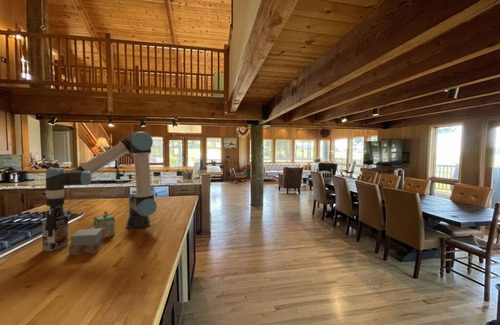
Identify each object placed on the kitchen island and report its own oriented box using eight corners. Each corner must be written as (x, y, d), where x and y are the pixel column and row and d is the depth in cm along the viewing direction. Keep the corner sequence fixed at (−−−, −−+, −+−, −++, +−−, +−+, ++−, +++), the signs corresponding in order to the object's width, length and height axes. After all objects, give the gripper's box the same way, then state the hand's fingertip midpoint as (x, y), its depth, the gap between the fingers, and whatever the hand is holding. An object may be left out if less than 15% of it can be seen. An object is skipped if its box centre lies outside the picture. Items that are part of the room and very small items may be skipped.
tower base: (102, 245, 133) (102, 236, 133) (97, 254, 122) (97, 244, 121) (77, 247, 129) (77, 238, 128) (69, 257, 117) (68, 247, 117)
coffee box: (52, 251, 122) (51, 220, 121) (41, 250, 123) (41, 219, 122) (68, 245, 131) (68, 216, 130) (59, 243, 132) (58, 215, 131)
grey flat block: (102, 236, 132) (102, 228, 131) (96, 244, 121) (96, 234, 121) (79, 238, 128) (79, 229, 128) (70, 246, 118) (70, 236, 118)
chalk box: (93, 235, 146) (93, 211, 145) (110, 232, 153) (110, 209, 152) (97, 239, 140) (97, 214, 139) (115, 235, 146) (115, 212, 146)
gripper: (55, 193, 135) (55, 232, 136) (35, 202, 114) (36, 247, 114) (71, 193, 138) (71, 230, 139) (55, 201, 116) (55, 245, 117)
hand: (55, 238), depth 127 cm, fingers closed on coffee box, 10 cm apart
